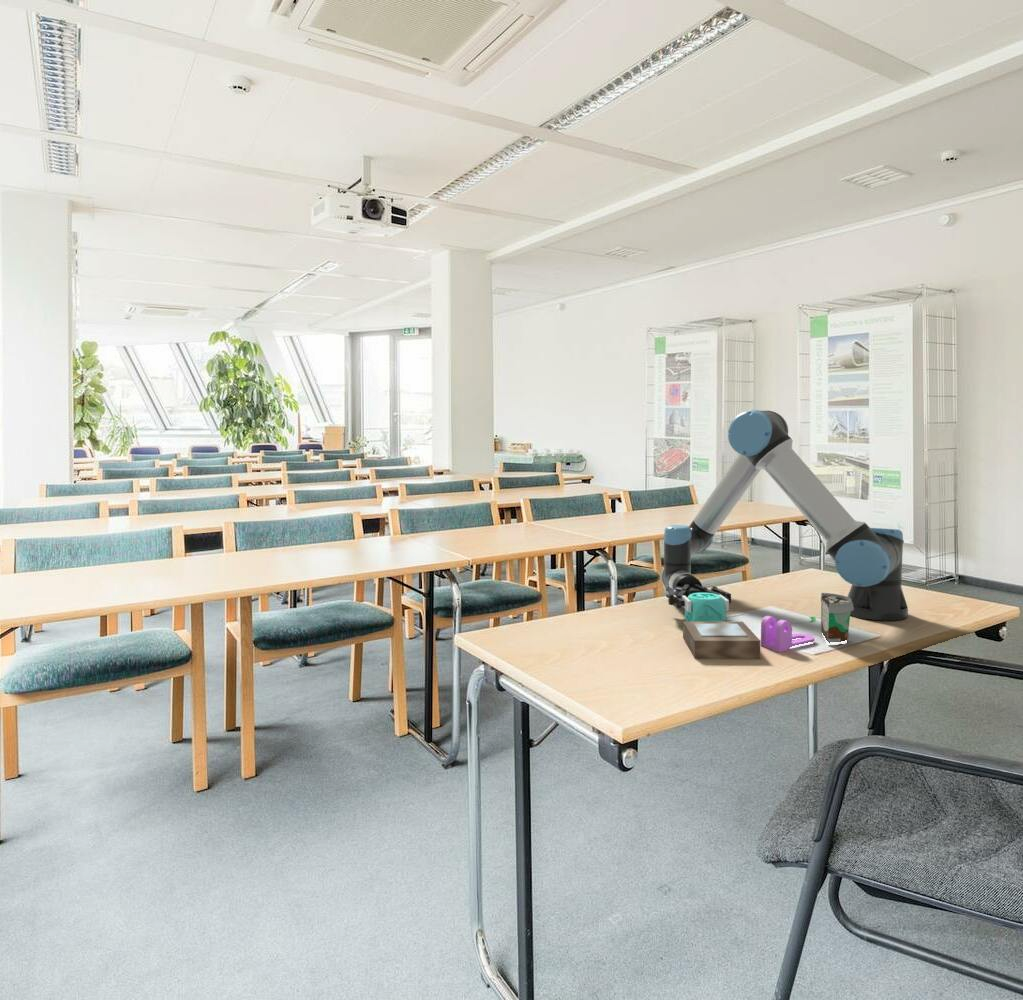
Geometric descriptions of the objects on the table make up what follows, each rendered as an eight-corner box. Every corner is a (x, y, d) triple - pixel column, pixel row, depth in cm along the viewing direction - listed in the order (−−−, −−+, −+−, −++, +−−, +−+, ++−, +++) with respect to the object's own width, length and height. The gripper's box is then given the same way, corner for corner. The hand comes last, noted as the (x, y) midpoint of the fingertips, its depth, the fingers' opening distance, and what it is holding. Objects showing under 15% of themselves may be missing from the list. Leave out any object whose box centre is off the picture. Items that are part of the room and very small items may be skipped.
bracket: (780, 652, 169) (780, 622, 168) (760, 646, 174) (761, 616, 173) (819, 643, 175) (820, 614, 175) (799, 638, 180) (800, 609, 179)
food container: (857, 649, 170) (859, 605, 169) (828, 647, 172) (829, 604, 171) (847, 634, 182) (848, 593, 181) (820, 632, 184) (821, 592, 183)
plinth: (742, 638, 180) (742, 620, 180) (760, 658, 164) (760, 639, 164) (682, 637, 181) (683, 620, 181) (694, 658, 165) (694, 639, 165)
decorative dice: (726, 630, 187) (726, 598, 186) (694, 632, 186) (694, 600, 185) (714, 622, 195) (714, 591, 194) (684, 623, 194) (684, 593, 193)
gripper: (723, 599, 210) (751, 620, 187) (647, 601, 209) (665, 622, 187) (724, 572, 209) (751, 590, 187) (647, 574, 209) (665, 592, 186)
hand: (708, 606), depth 187 cm, fingers open, 9 cm apart
